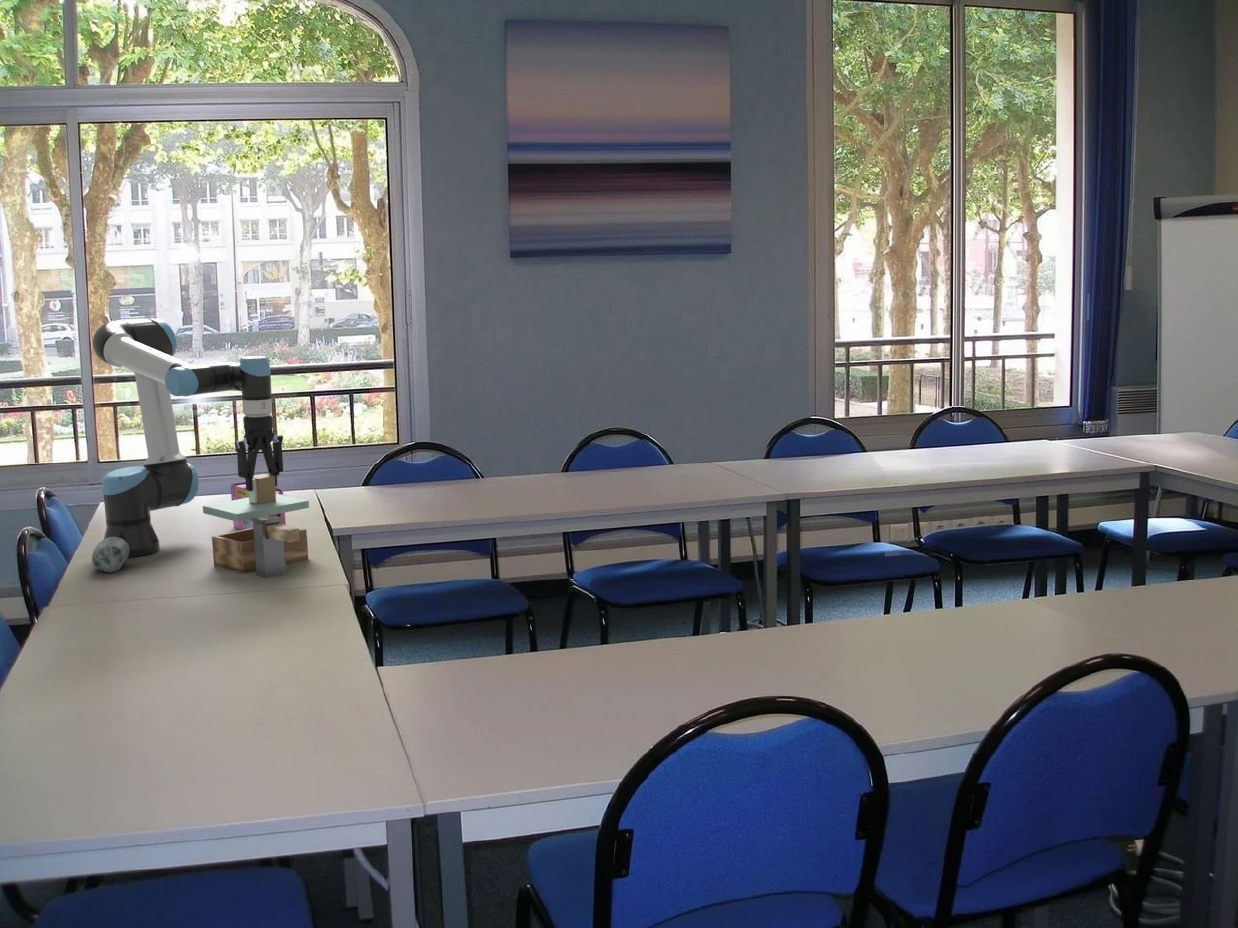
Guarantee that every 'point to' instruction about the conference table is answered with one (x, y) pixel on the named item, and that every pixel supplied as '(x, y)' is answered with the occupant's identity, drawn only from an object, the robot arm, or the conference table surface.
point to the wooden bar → (282, 532)
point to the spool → (110, 554)
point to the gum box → (240, 492)
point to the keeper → (268, 548)
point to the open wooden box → (251, 550)
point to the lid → (265, 503)
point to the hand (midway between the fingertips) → (262, 500)
